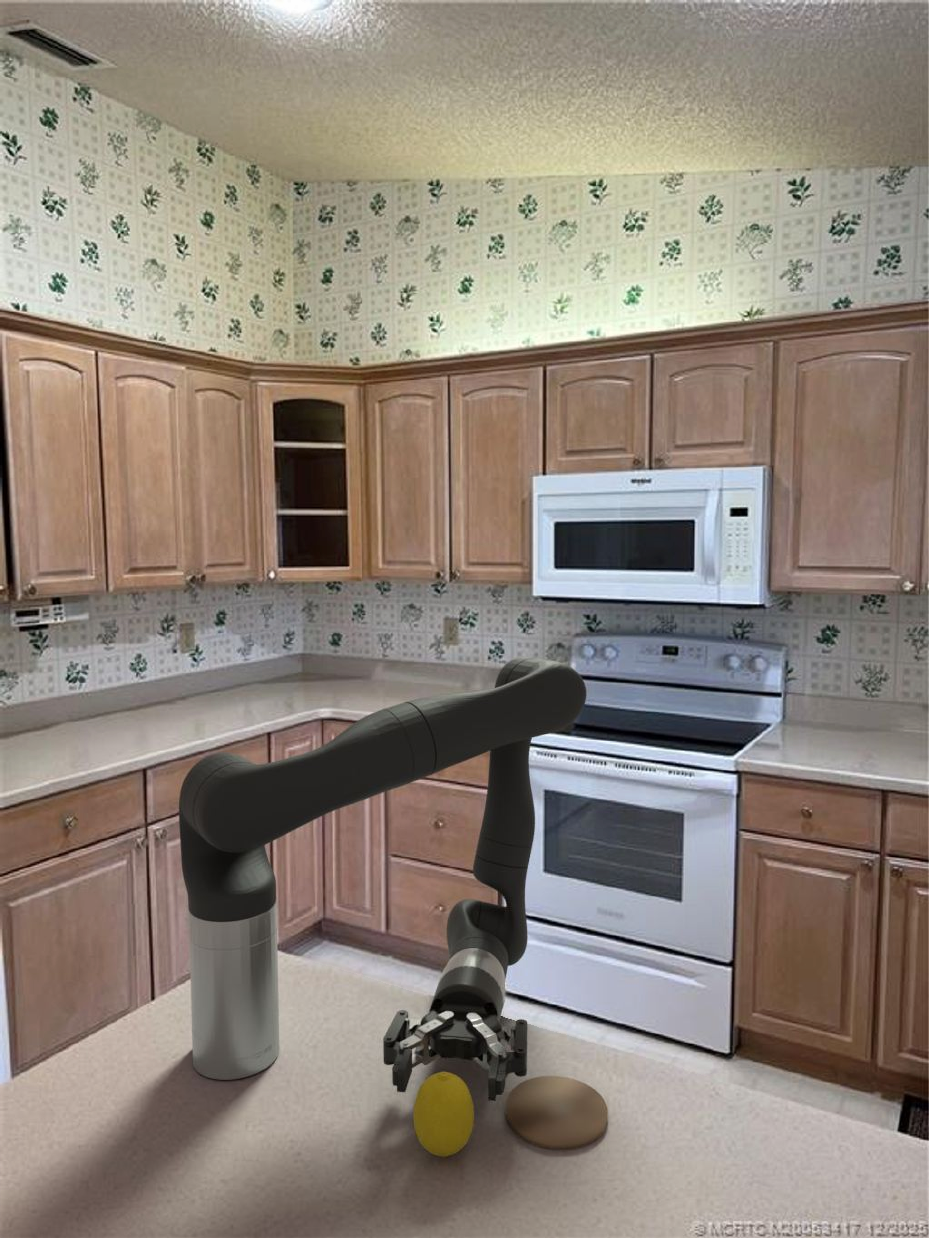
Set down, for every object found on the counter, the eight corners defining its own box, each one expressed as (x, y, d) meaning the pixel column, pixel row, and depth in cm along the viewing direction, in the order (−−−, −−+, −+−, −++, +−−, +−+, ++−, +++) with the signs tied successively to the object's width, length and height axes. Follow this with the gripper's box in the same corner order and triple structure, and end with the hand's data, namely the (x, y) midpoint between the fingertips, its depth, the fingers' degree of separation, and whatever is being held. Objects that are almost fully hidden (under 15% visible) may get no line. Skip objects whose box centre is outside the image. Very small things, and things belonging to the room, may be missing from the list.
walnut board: (484, 1111, 86) (484, 1103, 86) (553, 1071, 93) (553, 1063, 93) (559, 1165, 79) (559, 1157, 79) (628, 1117, 85) (628, 1109, 85)
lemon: (467, 1181, 77) (467, 1095, 76) (406, 1172, 78) (406, 1087, 77) (478, 1139, 82) (478, 1058, 81) (422, 1131, 83) (421, 1052, 82)
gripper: (406, 960, 97) (370, 1042, 81) (534, 968, 95) (523, 1055, 79) (407, 1024, 98) (371, 1118, 82) (533, 1034, 96) (522, 1132, 80)
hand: (445, 1087), depth 80 cm, fingers open, 8 cm apart
